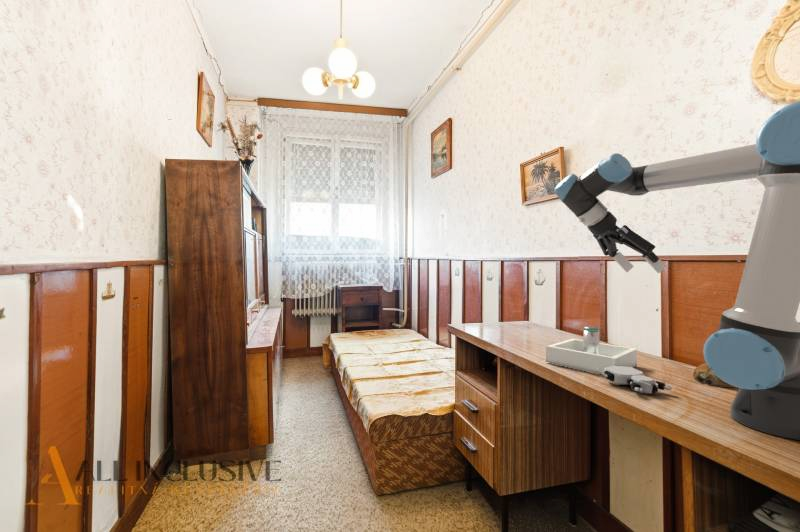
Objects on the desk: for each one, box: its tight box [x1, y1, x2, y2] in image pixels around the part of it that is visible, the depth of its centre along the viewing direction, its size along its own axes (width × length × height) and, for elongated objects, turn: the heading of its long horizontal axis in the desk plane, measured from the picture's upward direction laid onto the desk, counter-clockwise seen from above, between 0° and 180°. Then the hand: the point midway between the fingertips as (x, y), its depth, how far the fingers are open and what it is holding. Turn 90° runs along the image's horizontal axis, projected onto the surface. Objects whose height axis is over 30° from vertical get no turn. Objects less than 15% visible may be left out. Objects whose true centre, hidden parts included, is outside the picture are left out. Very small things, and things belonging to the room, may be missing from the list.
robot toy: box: [597, 366, 673, 394], centre depth 103 cm, size 12×4×15 cm
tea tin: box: [582, 325, 601, 355], centre depth 127 cm, size 5×5×12 cm
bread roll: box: [692, 362, 736, 388], centre depth 109 cm, size 10×10×8 cm
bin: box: [545, 338, 638, 376], centre depth 127 cm, size 22×22×6 cm
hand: (645, 269), depth 109 cm, fingers open, 13 cm apart
